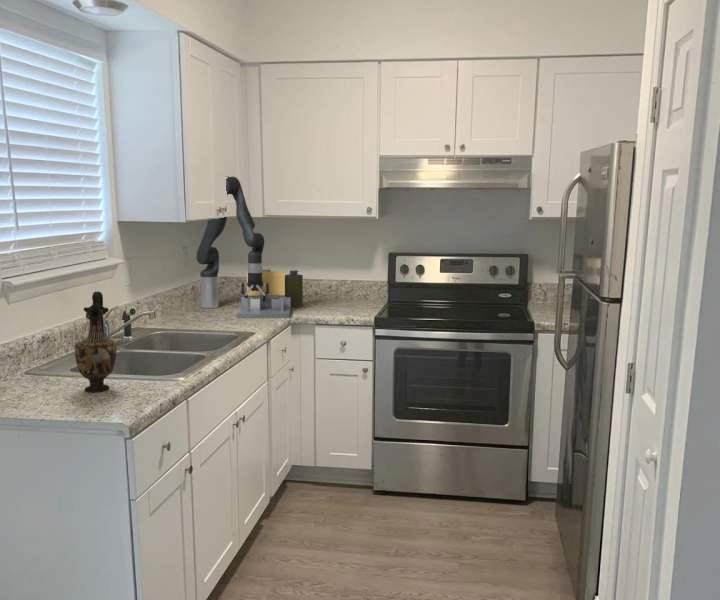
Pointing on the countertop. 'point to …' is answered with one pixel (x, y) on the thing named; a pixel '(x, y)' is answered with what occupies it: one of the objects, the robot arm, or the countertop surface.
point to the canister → (294, 288)
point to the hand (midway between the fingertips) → (255, 302)
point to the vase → (96, 348)
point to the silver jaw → (255, 304)
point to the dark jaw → (276, 304)
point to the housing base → (265, 308)
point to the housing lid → (271, 283)
